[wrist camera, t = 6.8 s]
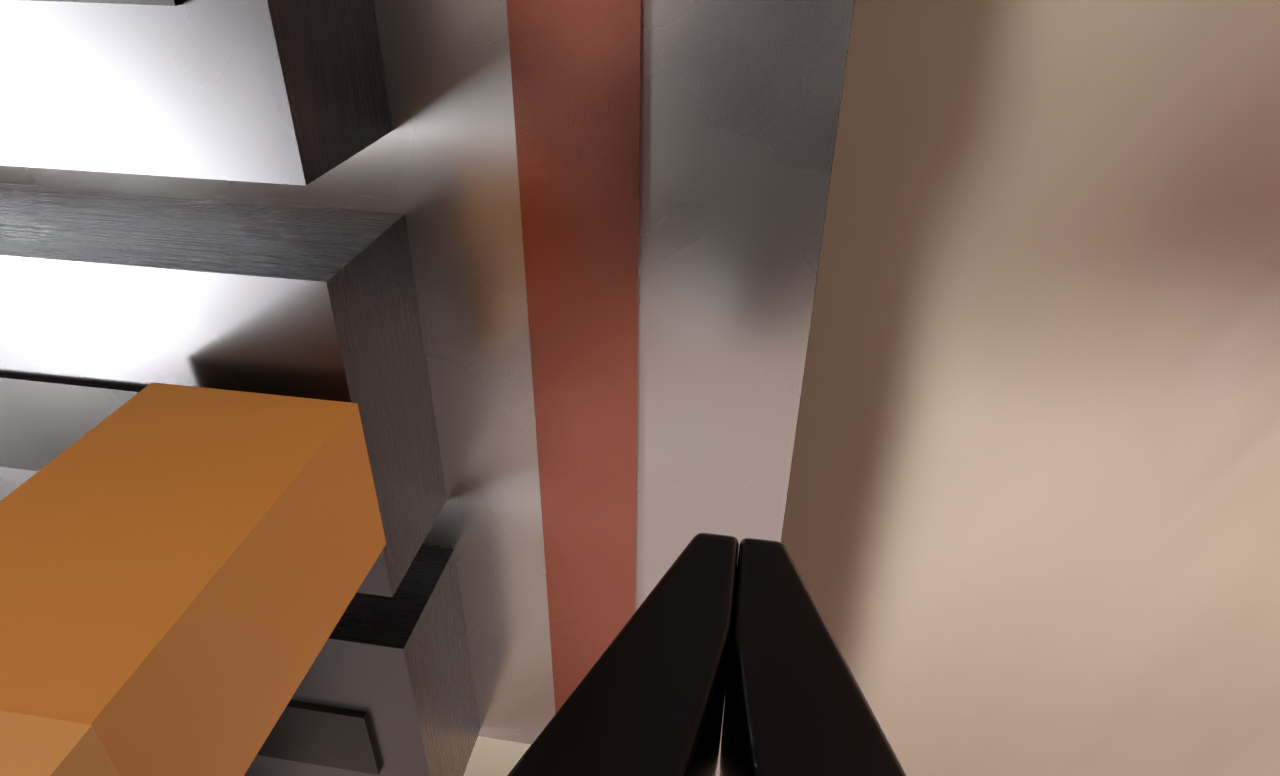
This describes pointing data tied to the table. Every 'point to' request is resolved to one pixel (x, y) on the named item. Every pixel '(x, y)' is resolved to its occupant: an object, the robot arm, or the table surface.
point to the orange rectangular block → (178, 580)
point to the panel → (436, 299)
